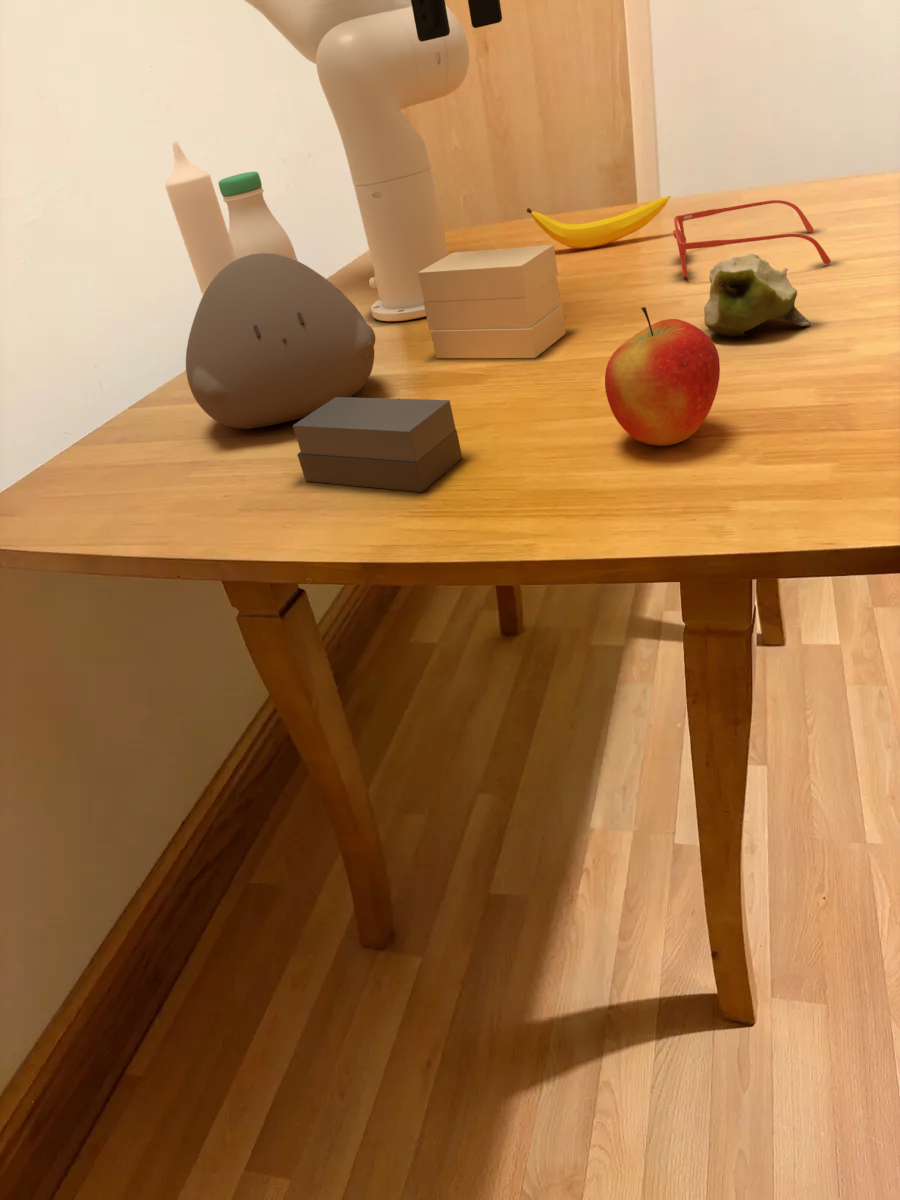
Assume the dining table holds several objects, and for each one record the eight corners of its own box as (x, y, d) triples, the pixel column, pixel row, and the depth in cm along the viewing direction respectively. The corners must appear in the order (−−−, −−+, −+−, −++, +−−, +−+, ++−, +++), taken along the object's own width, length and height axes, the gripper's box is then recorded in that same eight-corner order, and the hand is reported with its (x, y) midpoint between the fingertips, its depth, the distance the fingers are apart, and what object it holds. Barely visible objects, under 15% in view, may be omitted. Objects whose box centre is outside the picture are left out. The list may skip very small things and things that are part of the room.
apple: (701, 465, 63) (692, 324, 58) (595, 459, 67) (578, 327, 62) (736, 418, 68) (732, 285, 63) (636, 414, 73) (624, 290, 67)
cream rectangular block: (424, 302, 93) (417, 272, 91) (458, 280, 97) (453, 252, 96) (526, 297, 86) (521, 265, 85) (558, 275, 91) (554, 244, 89)
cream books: (434, 358, 96) (422, 302, 93) (468, 335, 100) (457, 280, 97) (535, 358, 89) (526, 297, 86) (566, 333, 94) (558, 275, 91)
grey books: (305, 481, 75) (287, 425, 72) (348, 450, 79) (332, 396, 76) (422, 492, 68) (408, 432, 66) (462, 457, 72) (450, 399, 70)
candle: (297, 373, 101) (223, 129, 88) (267, 398, 96) (184, 141, 83) (244, 378, 104) (165, 141, 91) (213, 402, 98) (124, 154, 85)
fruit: (753, 366, 80) (731, 280, 76) (690, 353, 88) (666, 275, 84) (834, 316, 81) (816, 229, 77) (764, 308, 89) (744, 229, 85)
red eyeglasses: (675, 251, 113) (672, 208, 110) (812, 229, 108) (812, 184, 106) (675, 290, 99) (672, 243, 96) (832, 267, 94) (833, 217, 92)
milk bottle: (332, 338, 111) (284, 163, 100) (299, 361, 105) (244, 178, 95) (282, 342, 114) (230, 172, 104) (247, 364, 109) (189, 188, 98)
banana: (672, 238, 119) (669, 186, 115) (531, 259, 124) (524, 211, 121) (673, 232, 121) (670, 182, 117) (535, 253, 127) (528, 206, 123)
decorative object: (358, 360, 101) (321, 220, 93) (406, 403, 86) (367, 241, 78) (198, 410, 97) (145, 269, 89) (219, 464, 82) (158, 300, 74)
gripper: (440, -186, 84) (474, 28, 93) (327, -193, 72) (378, 52, 81) (510, -214, 79) (538, 12, 89) (402, -225, 68) (447, 36, 77)
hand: (462, 31), depth 85 cm, fingers open, 9 cm apart
